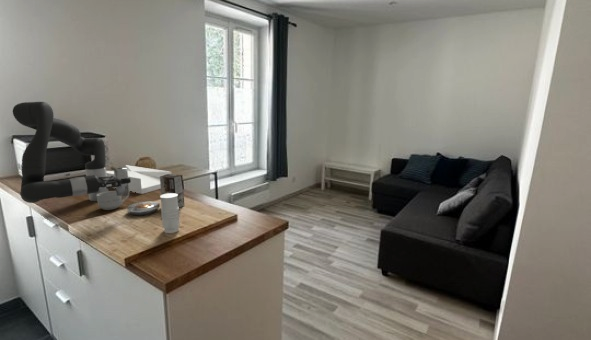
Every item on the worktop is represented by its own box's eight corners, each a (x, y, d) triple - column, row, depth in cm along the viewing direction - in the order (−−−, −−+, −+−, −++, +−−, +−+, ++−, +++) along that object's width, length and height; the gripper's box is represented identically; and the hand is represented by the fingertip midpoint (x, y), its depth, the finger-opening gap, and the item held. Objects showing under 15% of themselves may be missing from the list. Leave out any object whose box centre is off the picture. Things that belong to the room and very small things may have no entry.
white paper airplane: (94, 185, 200) (93, 170, 198) (126, 178, 219) (125, 164, 217) (142, 194, 180) (140, 178, 178) (172, 186, 199) (171, 171, 198)
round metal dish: (121, 213, 148) (120, 207, 148) (148, 205, 160) (147, 199, 159) (139, 218, 141) (139, 212, 141) (166, 210, 153) (165, 204, 152)
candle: (182, 231, 128) (179, 196, 125) (164, 235, 124) (161, 199, 121) (178, 225, 134) (176, 192, 131) (161, 229, 130) (158, 194, 127)
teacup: (97, 213, 148) (95, 197, 147) (99, 206, 158) (97, 191, 156) (130, 209, 155) (128, 193, 153) (130, 202, 164) (128, 188, 162)
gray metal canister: (114, 194, 140) (111, 168, 137) (125, 191, 144) (122, 166, 142) (120, 196, 137) (118, 169, 135) (132, 193, 142) (129, 167, 139)
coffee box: (185, 205, 161) (183, 174, 157) (176, 209, 155) (174, 177, 151) (170, 203, 164) (168, 173, 160) (161, 207, 158) (159, 176, 154)
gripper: (86, 179, 124) (132, 173, 135) (79, 173, 134) (122, 168, 145) (89, 197, 125) (134, 190, 137) (81, 190, 135) (124, 184, 147)
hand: (127, 179), depth 141 cm, fingers closed on gray metal canister, 5 cm apart
